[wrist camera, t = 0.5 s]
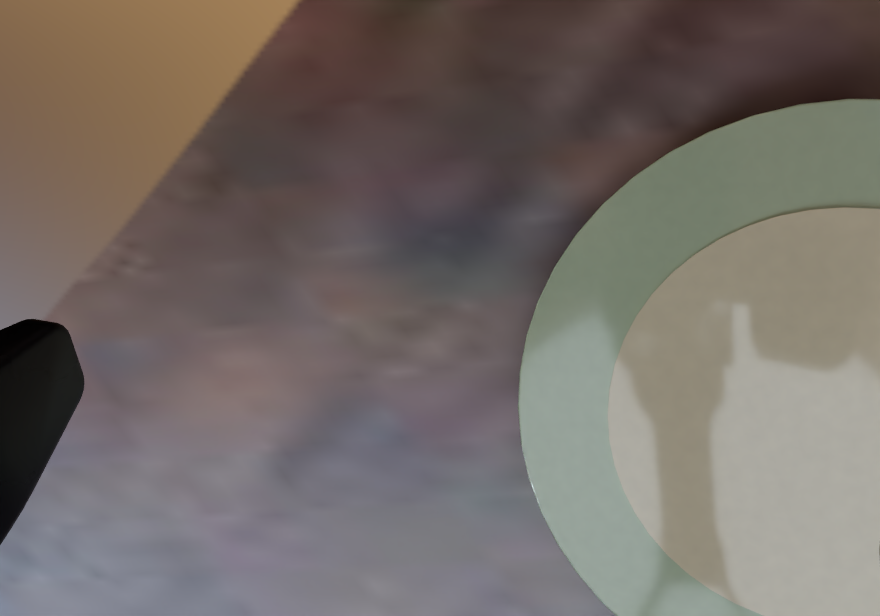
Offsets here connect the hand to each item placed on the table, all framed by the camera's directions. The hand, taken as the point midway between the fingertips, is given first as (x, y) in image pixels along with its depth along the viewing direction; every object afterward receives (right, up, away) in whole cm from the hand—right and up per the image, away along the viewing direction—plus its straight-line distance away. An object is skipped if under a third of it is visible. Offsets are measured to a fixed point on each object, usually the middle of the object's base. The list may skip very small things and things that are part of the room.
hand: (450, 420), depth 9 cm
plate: (+10, -2, +13) cm, 16 cm away
